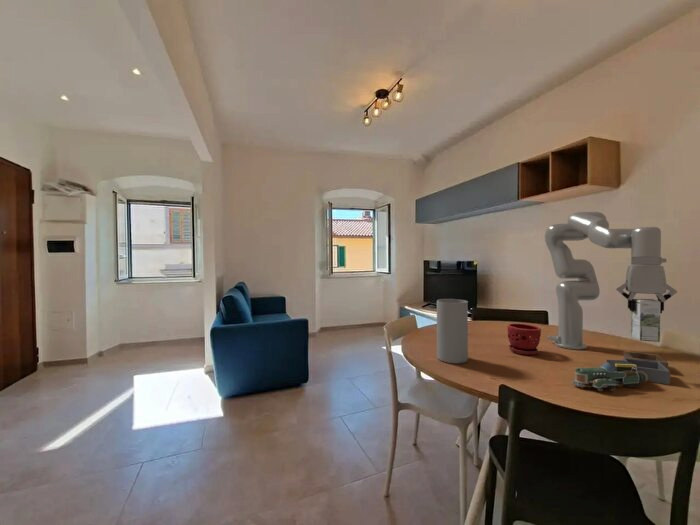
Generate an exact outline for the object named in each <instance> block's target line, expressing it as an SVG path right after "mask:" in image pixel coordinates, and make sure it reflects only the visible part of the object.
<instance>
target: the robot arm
mask: <svg viewBox="0 0 700 525" xmlns="http://www.w3.org/2000/svg"><path fill="white" fill-rule="evenodd" d="M586 239H589V241H590V242H591V243H592V244H594V245H596V246H599V247H601V248H606V249H631V250H630V251H631V252H630V255H631V258H630V260H631V261H630V262H631V263H630V264H631V265H628V266H627V269H626V276H625V282H624V283H623V284H621V285H619V287H617V288H616V291H617V292H618V293H619V294H621V295H622V297H624V298H625V299H627V309H629V311H630V312H631V311H633V312H634V311H635V301H634V300H633V299H635V296H636V295H637V294H643V295H644V294H647V295H649V294H650V295H651V294H652V295H654V296H655V297H656V299H657V301H660V303H661V304H660V305H661V306H660V314H662V313H663V312H664V310H665V302H666V301H667V300H669V299H671V298H672V297H673V296H674V295H676V294H677V293H678V291H677V290H676V289H675V288H673V287H672V286H671V285H669V284H667V277H666V272H665V267H664V266H663V265H662V264H663V263H667V261H668V260H667V258H664V257H662V256H661V255H662V254H661V252H662V250H661V249H662V244H661V243H662V231H661V228H659V227H657V226H643V227H636V228H635V227H634V228H610V224H609V222H608V220H607V217H606V215H605V214H604V213H602V212H599V211H578V212H574V213H572V214H571V215H570V216H569V217H568V218H567V223H555V224H552V225H550V226H548V227H547V229H546V231H545V234H544V241H545V244H546V247H547V249H548V251H549V253H550V255H551V256H550V257H551V261H552V265H553V268H554V273H555V275H556V276H557V277H558V278H559V279H567V280H564V281H563V280H562V281H561V282H559V283H557V285H556V288H555V293H556V297H557V304H558V309H557V310H558V318H557V319H558V333H557V335H549V334H547V336H546V337H547V338H546V339H547V340H550V341H554V344H555V346H557V347H560V348H564V349H570V350H586V349H587V348H588V346H587V344H585V343H584V340H583V339H584V337H583V335H584V330H583V328H584V327H583V326H584V325H583V324H584V316H583V315H584V311H583V308H582V306H581V304H580V303H579V301H595V300H597V298H599V296H600V293H601V292H600V286H599V281H598V279H597V275H596V271H595V268H594V266H593V265H592V263H591V262H590V261H589V260H587V259H575V258H574V257H573V254H572V250H571V249H570V247H569V246H568V245H567V244H566V243H565V242H564V241H566V242H572V241H573V242H574V241H576V242H577V241H579V242H580V241H584V240H586ZM570 279H575V280H570ZM576 279H577V280H576ZM624 290H626V291H627V292H628V293H627V292H626V291H624ZM667 291H668V292H667ZM665 293H666V294H665ZM663 294H664V295H663Z"/></svg>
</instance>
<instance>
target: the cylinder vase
mask: <svg viewBox="0 0 700 525" xmlns="http://www.w3.org/2000/svg"><path fill="white" fill-rule="evenodd" d="M468 303H469V301H468V300H465V299H456V298H442V299H441V298H440V299H437V300H436V357H437V359H438V360H439V361H441V362H443V361H444V363H446V362H447V364H452V363H453V364H454V365H455V364H457V365H459V364H464V363H466V362H468V359H469V343H468V342H469V339H468V338H469V329H468V328H469V322H468V321H469V318H468V316H469V312H468V311H469V310H468V309H469V308H468ZM453 364H452V365H453Z"/></svg>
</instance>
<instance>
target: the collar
mask: <svg viewBox="0 0 700 525" xmlns="http://www.w3.org/2000/svg"><path fill="white" fill-rule="evenodd" d="M623 358H628V359H636V360H644V361H652V362H659V363H661V364H662V365H663V366H664V367H665V368H666V369H668V370H669V362H668V361H667V360H666V359H664V358H663V357H661V356H660V355H659V354H654V353H645V352H635V351H629V350H628V351H627V350H623Z"/></svg>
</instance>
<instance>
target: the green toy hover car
mask: <svg viewBox="0 0 700 525" xmlns="http://www.w3.org/2000/svg"><path fill="white" fill-rule="evenodd" d="M633 366H634V365H632V368H633ZM633 369H635V368H633ZM647 380H648V375H647V374H646V373H644V372H642V371H637V367H636V371H632V370H630V371H616V370H615V369H614V368H613V367H612V366H611V365H610V364H609V363H608V362H607V361H606V362H604V363H603V364H602V365H600V366H597V367H595V366H593V367H582V366H580V367H578V368H576V369H575V370H574V380H572V381H571V382H572V384H573V385H574V387H575V388H578V389H580V390H584V387H585V386H586V385H588V384H591V382H592V386H591V387H587V388H586V390H590V389H592V388H596V389H597V391H598V392H603V390H604V388H608V389H609V390H610V391H613V392H614V391H615V390H616V387H622V385H621V384H623V386H624V387H625V388H627V389H628V388H629V389H630V388H632V389H634V388H636V387H639V383H646V382H648V381H647Z"/></svg>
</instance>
